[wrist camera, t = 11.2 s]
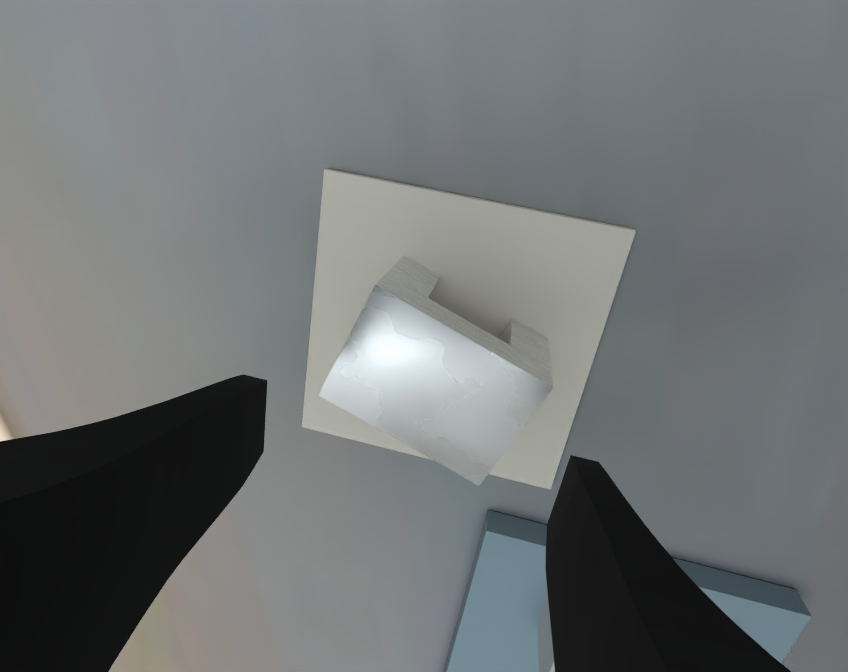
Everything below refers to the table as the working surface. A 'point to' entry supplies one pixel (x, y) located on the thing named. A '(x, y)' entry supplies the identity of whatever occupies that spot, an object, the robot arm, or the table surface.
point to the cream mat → (466, 293)
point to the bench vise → (529, 609)
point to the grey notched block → (438, 375)
